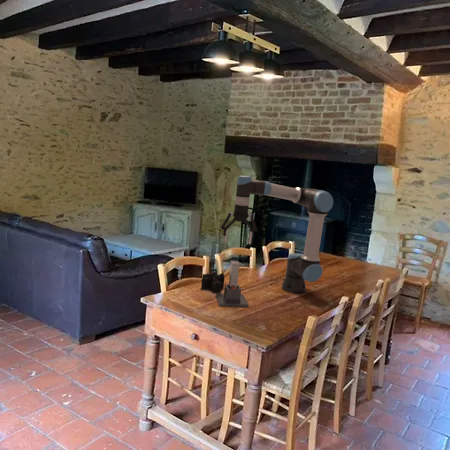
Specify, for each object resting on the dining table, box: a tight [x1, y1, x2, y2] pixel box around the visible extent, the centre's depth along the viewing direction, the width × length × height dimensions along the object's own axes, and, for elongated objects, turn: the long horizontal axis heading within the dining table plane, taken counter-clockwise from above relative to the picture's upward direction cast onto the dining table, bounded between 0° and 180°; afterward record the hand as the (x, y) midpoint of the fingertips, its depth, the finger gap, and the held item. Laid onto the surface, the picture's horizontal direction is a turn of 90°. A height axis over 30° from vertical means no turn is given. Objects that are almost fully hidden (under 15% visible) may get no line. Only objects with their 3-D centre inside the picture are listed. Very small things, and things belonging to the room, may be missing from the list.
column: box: [228, 260, 241, 289], centre depth 233 cm, size 4×6×21 cm, turn 8°
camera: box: [200, 271, 225, 293], centre depth 250 cm, size 14×11×10 cm
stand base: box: [215, 283, 250, 308], centre depth 234 cm, size 16×16×10 cm
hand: (237, 242), depth 230 cm, fingers open, 13 cm apart
